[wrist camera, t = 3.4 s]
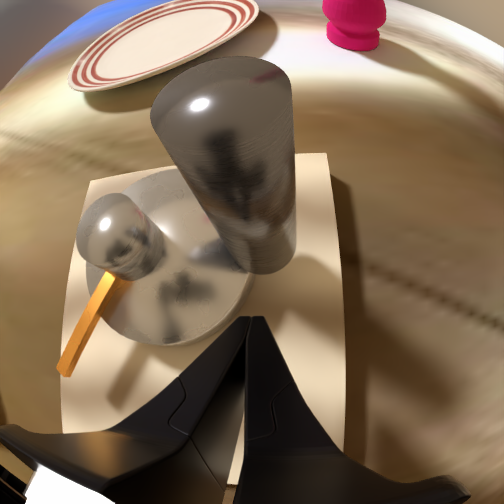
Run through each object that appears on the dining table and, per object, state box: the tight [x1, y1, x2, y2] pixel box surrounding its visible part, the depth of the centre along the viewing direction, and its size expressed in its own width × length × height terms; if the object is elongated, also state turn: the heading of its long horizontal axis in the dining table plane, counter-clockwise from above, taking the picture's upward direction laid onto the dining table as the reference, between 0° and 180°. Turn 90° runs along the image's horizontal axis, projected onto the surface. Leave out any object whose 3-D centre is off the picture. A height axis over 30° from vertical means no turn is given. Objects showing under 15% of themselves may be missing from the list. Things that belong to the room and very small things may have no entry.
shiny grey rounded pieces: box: [56, 56, 297, 377], centre depth 11 cm, size 13×13×11 cm
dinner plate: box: [68, 0, 259, 92], centre depth 30 cm, size 27×27×3 cm
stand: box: [61, 153, 346, 484], centre depth 17 cm, size 20×18×2 cm
